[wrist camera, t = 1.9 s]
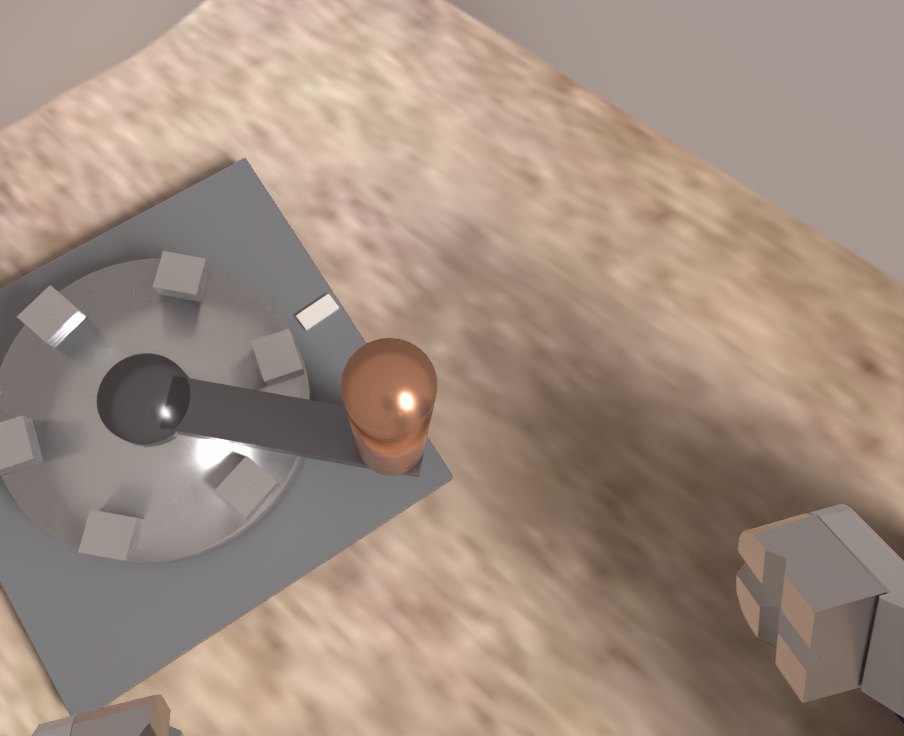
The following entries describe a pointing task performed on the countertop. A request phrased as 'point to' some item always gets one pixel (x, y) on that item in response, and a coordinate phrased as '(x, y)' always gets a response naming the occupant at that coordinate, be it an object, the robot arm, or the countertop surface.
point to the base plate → (252, 555)
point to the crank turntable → (184, 410)
